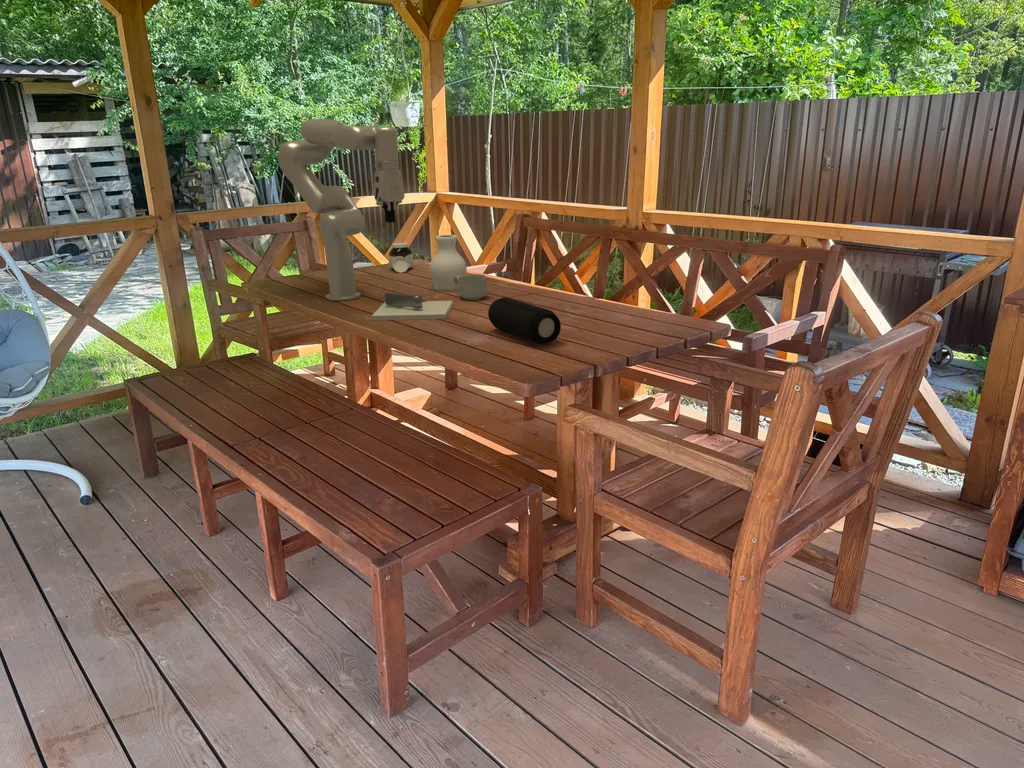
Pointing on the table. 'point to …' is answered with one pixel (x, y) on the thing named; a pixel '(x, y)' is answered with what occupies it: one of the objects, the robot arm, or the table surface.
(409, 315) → the dial board
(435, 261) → the vase
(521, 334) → the portable speaker
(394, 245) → the spread jar
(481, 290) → the teacup
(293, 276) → the table surface
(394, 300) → the grey rectangular bar
